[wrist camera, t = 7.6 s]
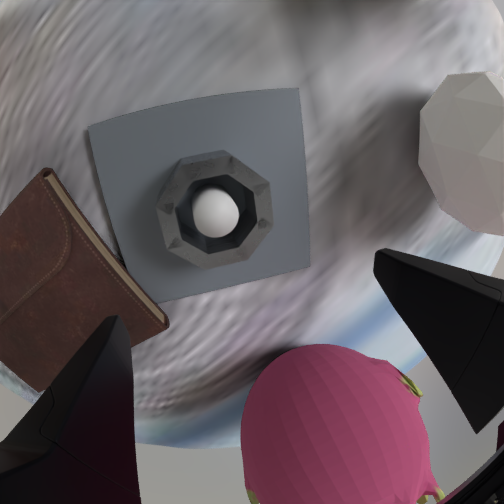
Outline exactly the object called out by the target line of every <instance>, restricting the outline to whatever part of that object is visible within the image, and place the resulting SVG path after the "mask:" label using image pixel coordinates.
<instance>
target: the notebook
mask: <svg viewBox="0 0 504 504" xmlns="http://www.w3.org/2000/svg"><path fill="white" fill-rule="evenodd" d="M116 314H117V315H119V316H120V317H121V319H122V321H123V323H124V325H125V327H126V329H127V331H128V333H129V336H130V343H131V347H133V346H135V345H137V344H139V343H141V342H143V341H145V340H147V339H149V338H151V337H153V336H155V335H157V334H158V333H160V332H162V331H164V330H166V329H168V328H169V326H170V323H169V319H168V316H167V315H166V314H165V313H164V312H163V311H162V309H161V308H160V307H159V306H158V305H157V304H156V303H155V302H154V301H153V300H152V299H151V297H150V296H149V295H148V294H147V293H146V292H145V291H144V290H143V288H142V287H141V286H140V285H139V284H138V283H137V282H136V280H135V279H134V278H133V277H132V276H131V275H130V273H129V272H128V271H127V270H126V269H125V267H124V266H123V265H122V264H121V263H120V261H119V260H118V259H117V258H116V256H115V255H114V254H113V253H112V252H111V250H110V249H109V248H108V246H107V245H106V244H105V243H104V241H103V240H102V239H101V238H100V236H99V235H98V234H97V232H96V231H95V230H94V228H93V227H92V226H91V224H90V223H89V222H88V220H87V219H86V218H85V216H84V215H83V213H82V212H81V211H80V209H79V208H78V206H77V205H76V204H75V202H74V201H73V199H72V198H71V196H70V195H69V193H68V192H67V190H66V189H65V187H64V186H63V184H62V183H61V181H60V180H59V178H58V177H57V175H56V174H55V172H54V171H53V169H51V168H47V167H46V168H43V169H42V170H41V171H40V172H39V173H38V174H37V175H36V176H35V177H34V178H33V179H32V180H31V181H30V182H29V183H28V185H27V186H26V187H25V188H24V189H23V190H22V191H21V192H20V193H19V194H18V196H17V197H16V198H15V199H14V200H13V201H12V202H11V204H10V205H9V206H8V207H7V208H6V210H5V211H4V212H3V213H2V215H1V216H0V361H1V362H2V363H4V364H5V365H6V366H7V367H8V368H9V369H10V370H11V371H13V372H14V373H15V374H16V375H17V376H18V377H20V378H21V379H22V380H23V381H24V382H26V383H27V384H28V385H29V386H31V387H32V388H33V389H35V390H36V391H37V392H41V391H43V390H46V389H47V388H48V386H50V384H51V382H52V381H53V380H54V379H55V377H56V376H57V375H58V374H59V372H60V371H61V370H62V369H63V367H64V366H65V365H66V364H67V363H68V361H69V360H70V359H71V358H72V357H73V355H74V354H75V353H76V352H77V351H78V349H79V348H80V347H81V346H82V345H83V343H84V342H85V341H86V340H87V339H88V338H89V336H90V335H91V334H92V333H93V332H94V331H95V329H96V328H97V327H98V326H99V325H100V324H101V323H102V321H103V320H104V319H105V318H106V317H107V316H111V315H116Z"/></svg>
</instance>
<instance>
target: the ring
mask: <svg viewBox="0 0 504 504" xmlns="http://www.w3.org/2000/svg"><path fill="white" fill-rule="evenodd" d="M225 174H228V175H229V176H231V177H232V178H234V179H235V180H237V181H238V182H240V183H241V184H243V188H244V196H245V203H246V208H245V210H244V211H243V212H242V214H241V215H240V216H239V218H238V222H237V224H236V226H235V228H234V229H233V230H232V231H231V232H230V233H228V234H227V235H225V236H222V237H208V236H206V235H203V234H201V233H199V232H197V231H196V230H194V229H192V228H190V227H189V226H187V225H185V224H184V223H182V222H181V221H180V217H179V213H178V208H177V204H178V203H179V201H180V200H181V198H182V197H183V195H184V194H185V192H186V191H187V189H188V188H189V186H190V185H191V183H192V182H193V181H195V180H200V179H205V178H210V177H215V176H220V175H225ZM155 207H156V211H157V215H158V218H159V222H160V226H161V230H162V233H163V237H164V241H165V244H166V248H167V250H169V251H170V252H172V253H174V254H176V255H178V256H180V257H182V258H183V259H185V260H187V261H189V262H191V263H193V264H195V265H197V266H198V267H200V268H202V269H204V270H207V269H211V268H216V267H220V266H224V265H228V264H233V263H237V262H241V261H245V260H248V259H249V258H250V256H251V255H252V254H253V252H254V251H255V250H256V248H257V247H258V246H259V245H260V243H261V242H262V241H263V239H264V238H265V237H266V235H267V234H268V233H269V232H270V230H271V229H272V228H273V226H274V219H273V209H272V200H271V190H270V182H268V181H267V180H266V179H264V178H263V177H262V176H260V175H259V174H258V173H256V172H255V171H253V170H252V169H251V168H249V167H248V166H246V165H245V164H244V163H242V162H241V161H239V160H238V159H237V158H235V157H234V156H232V155H231V154H229V153H228V152H227V151H225V150H219V151H213V152H208V153H203V154H198V155H193V156H188V157H184V158H181V160H180V161H179V163H178V164H177V165H176V167H175V168H174V170H173V171H172V173H171V174H170V176H169V178H168V179H167V181H166V182H165V184H164V185H163V187H162V188H161V190H160V192H159V193H158V198H157V202H156V206H155Z"/></svg>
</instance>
